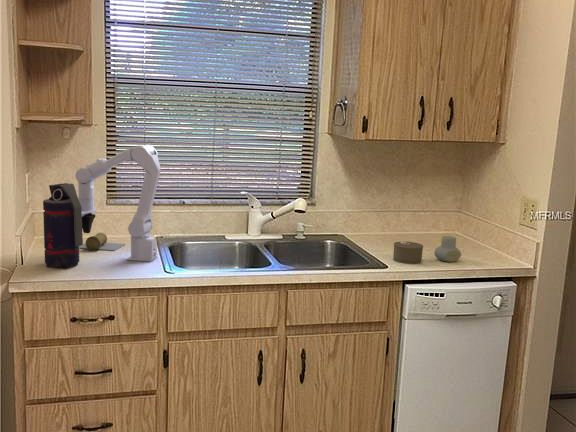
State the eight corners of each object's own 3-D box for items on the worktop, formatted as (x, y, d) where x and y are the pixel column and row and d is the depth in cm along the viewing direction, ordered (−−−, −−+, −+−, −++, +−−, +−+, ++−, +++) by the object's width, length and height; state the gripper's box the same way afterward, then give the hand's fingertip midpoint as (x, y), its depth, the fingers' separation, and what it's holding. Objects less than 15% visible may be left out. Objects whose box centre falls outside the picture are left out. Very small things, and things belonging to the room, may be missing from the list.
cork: (98, 235, 244) (108, 230, 255) (84, 237, 245) (94, 231, 255) (101, 250, 245) (110, 244, 256) (86, 251, 246) (96, 245, 256)
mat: (125, 244, 258) (125, 243, 258) (114, 251, 247) (114, 250, 247) (88, 242, 260) (88, 241, 260) (76, 248, 248) (76, 247, 248)
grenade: (37, 266, 219) (35, 184, 214) (60, 259, 230) (58, 180, 225) (69, 271, 214) (67, 187, 209) (90, 264, 225) (89, 183, 220)
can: (401, 265, 245) (403, 248, 244) (387, 257, 256) (388, 241, 255) (427, 263, 249) (429, 247, 248) (412, 256, 260) (413, 241, 259)
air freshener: (440, 263, 250) (443, 239, 249) (430, 258, 258) (432, 235, 256) (463, 262, 254) (466, 239, 252) (452, 257, 261) (455, 234, 260)
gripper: (84, 195, 243) (84, 228, 246) (67, 200, 229) (68, 235, 231) (101, 196, 243) (101, 229, 245) (85, 201, 228) (86, 237, 231)
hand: (86, 232), depth 238 cm, fingers closed
